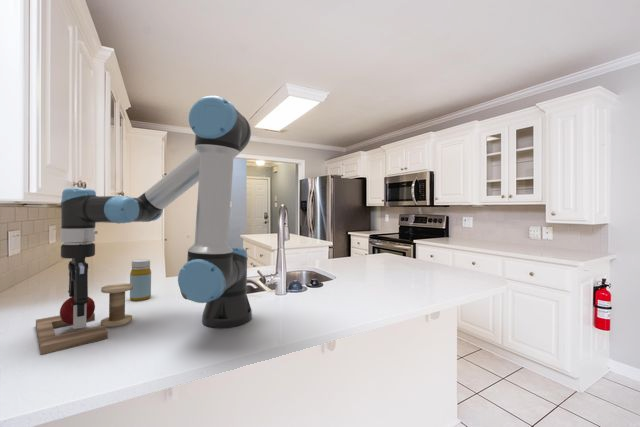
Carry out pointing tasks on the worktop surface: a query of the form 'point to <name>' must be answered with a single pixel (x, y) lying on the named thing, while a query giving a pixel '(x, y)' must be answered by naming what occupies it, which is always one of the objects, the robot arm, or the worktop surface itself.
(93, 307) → the apple
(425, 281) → the worktop surface
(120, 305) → the bobbin
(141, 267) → the bottle
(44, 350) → the notched board
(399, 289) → the worktop surface
